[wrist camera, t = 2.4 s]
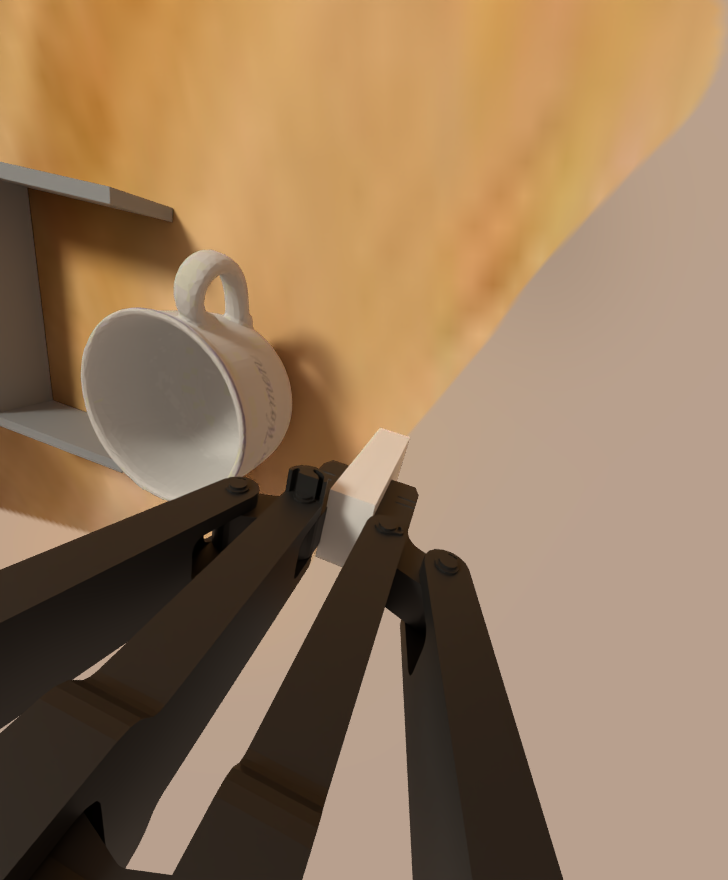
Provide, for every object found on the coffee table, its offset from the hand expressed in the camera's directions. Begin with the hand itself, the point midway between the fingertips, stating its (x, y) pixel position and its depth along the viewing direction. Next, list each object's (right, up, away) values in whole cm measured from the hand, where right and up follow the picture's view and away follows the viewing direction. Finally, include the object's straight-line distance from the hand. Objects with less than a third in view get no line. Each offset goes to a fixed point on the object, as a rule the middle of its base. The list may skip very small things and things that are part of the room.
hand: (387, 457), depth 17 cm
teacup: (-9, +6, +8) cm, 14 cm away
